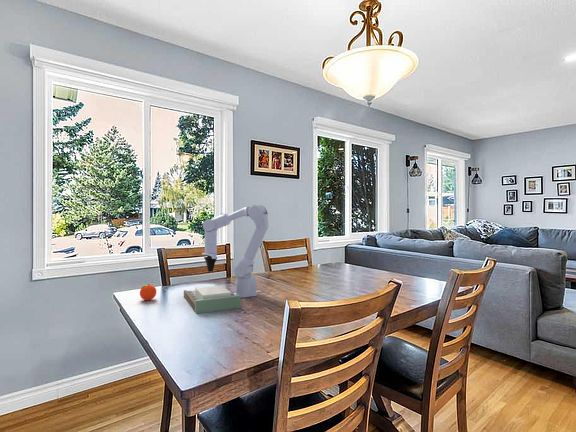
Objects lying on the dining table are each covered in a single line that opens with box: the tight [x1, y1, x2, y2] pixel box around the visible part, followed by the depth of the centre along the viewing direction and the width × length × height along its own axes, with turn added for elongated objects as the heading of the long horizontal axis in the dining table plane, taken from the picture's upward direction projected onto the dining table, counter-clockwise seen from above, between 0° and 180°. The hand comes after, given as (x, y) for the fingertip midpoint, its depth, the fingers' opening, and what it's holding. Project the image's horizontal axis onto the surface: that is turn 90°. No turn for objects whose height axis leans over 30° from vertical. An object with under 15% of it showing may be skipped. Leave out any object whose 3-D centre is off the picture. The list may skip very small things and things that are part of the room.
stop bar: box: [194, 294, 241, 314], centre depth 135 cm, size 18×2×5 cm, turn 118°
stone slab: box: [194, 284, 232, 299], centre depth 143 cm, size 12×14×3 cm
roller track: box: [183, 289, 234, 313], centre depth 147 cm, size 18×24×3 cm
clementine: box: [138, 284, 157, 301], centre depth 147 cm, size 8×7×7 cm
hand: (210, 271), depth 162 cm, fingers closed
